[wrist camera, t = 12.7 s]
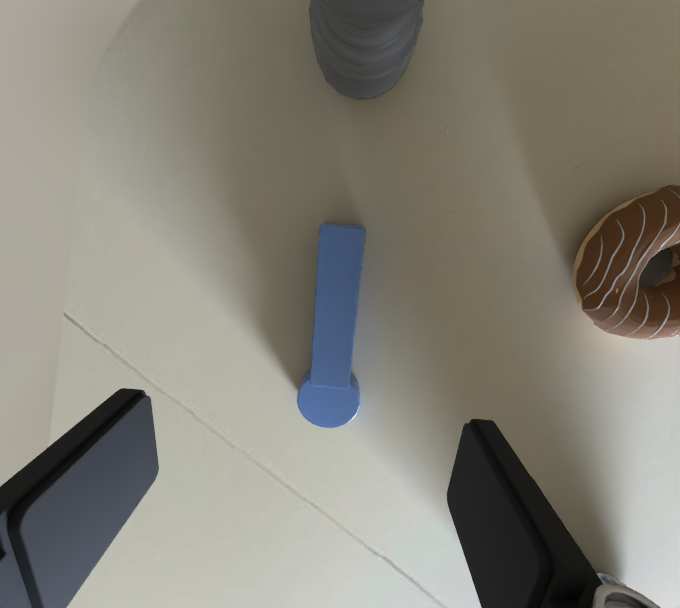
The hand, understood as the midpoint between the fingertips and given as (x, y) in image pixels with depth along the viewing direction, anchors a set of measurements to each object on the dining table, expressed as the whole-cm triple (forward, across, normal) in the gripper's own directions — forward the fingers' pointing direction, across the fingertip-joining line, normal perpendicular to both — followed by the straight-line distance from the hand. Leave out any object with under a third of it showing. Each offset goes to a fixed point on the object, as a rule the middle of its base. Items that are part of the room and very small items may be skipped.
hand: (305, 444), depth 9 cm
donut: (+17, -22, -4) cm, 28 cm away
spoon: (+17, -1, +3) cm, 17 cm away
